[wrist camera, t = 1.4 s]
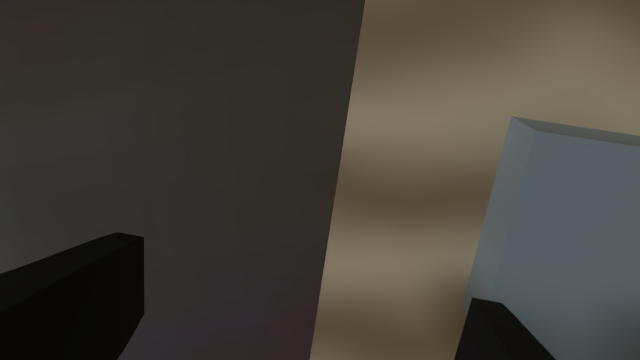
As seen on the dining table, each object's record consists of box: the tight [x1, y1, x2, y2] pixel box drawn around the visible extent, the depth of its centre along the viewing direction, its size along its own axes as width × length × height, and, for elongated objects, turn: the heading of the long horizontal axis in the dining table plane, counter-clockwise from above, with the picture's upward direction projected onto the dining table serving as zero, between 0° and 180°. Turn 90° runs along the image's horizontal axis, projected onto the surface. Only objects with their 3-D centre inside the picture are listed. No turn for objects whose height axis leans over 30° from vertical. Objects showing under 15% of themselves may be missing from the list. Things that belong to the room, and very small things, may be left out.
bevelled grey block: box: [463, 116, 640, 360], centre depth 17 cm, size 8×6×3 cm
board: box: [310, 0, 640, 360], centre depth 19 cm, size 18×22×1 cm
